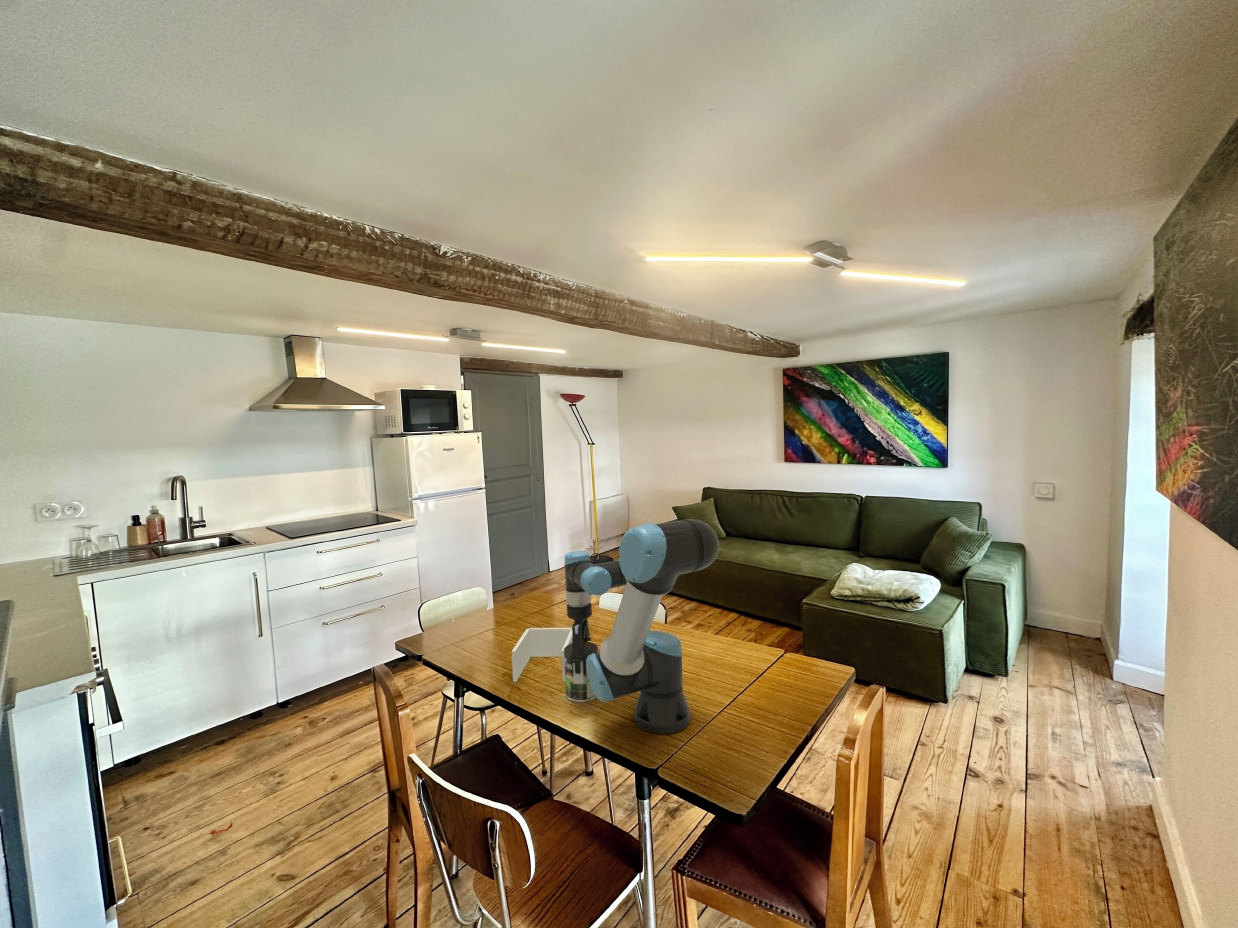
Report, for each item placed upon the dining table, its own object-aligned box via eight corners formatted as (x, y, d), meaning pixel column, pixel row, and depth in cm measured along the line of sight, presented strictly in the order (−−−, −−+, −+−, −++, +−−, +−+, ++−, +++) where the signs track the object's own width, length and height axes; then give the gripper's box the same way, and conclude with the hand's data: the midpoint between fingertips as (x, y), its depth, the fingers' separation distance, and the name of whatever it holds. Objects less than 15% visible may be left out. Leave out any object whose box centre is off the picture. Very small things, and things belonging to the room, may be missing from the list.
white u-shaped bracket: (566, 681, 156) (565, 651, 155) (513, 681, 157) (511, 651, 157) (575, 655, 175) (574, 627, 174) (528, 655, 176) (527, 628, 176)
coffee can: (570, 705, 142) (568, 658, 141) (562, 689, 151) (560, 644, 150) (604, 697, 145) (602, 651, 144) (593, 682, 155) (592, 638, 154)
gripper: (585, 617, 134) (589, 692, 135) (596, 590, 159) (599, 654, 160) (558, 617, 135) (562, 693, 135) (573, 591, 160) (576, 654, 160)
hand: (582, 672), depth 148 cm, fingers open, 13 cm apart
